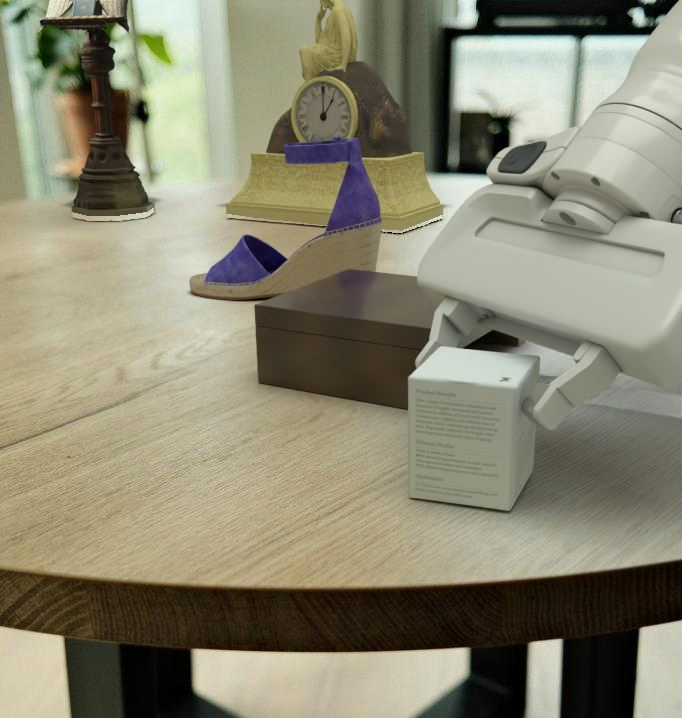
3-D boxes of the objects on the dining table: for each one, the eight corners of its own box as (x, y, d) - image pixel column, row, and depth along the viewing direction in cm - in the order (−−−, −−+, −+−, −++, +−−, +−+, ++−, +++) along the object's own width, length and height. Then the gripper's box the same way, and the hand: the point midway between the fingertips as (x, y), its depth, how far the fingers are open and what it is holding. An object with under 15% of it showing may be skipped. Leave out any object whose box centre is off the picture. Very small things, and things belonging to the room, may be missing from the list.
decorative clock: (226, 218, 146) (212, -17, 133) (276, 206, 156) (267, -14, 143) (401, 234, 133) (404, -25, 120) (442, 219, 143) (449, -22, 130)
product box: (535, 473, 61) (544, 354, 57) (510, 515, 55) (518, 387, 52) (436, 459, 63) (440, 344, 60) (404, 498, 58) (405, 374, 54)
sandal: (217, 279, 110) (207, 131, 103) (389, 293, 103) (390, 136, 97) (178, 295, 103) (165, 139, 97) (359, 312, 96) (359, 144, 90)
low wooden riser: (524, 363, 81) (529, 288, 78) (450, 417, 70) (453, 331, 67) (349, 338, 88) (348, 268, 85) (257, 382, 77) (253, 304, 75)
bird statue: (149, 227, 140) (123, -64, 125) (55, 228, 140) (18, -62, 125) (171, 208, 155) (150, -54, 140) (86, 209, 155) (56, -52, 140)
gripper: (801, 268, 51) (641, 487, 51) (531, 215, 67) (406, 381, 67) (758, 182, 47) (583, 419, 47) (481, 147, 63) (348, 324, 63)
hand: (477, 396), depth 57 cm, fingers open, 8 cm apart
